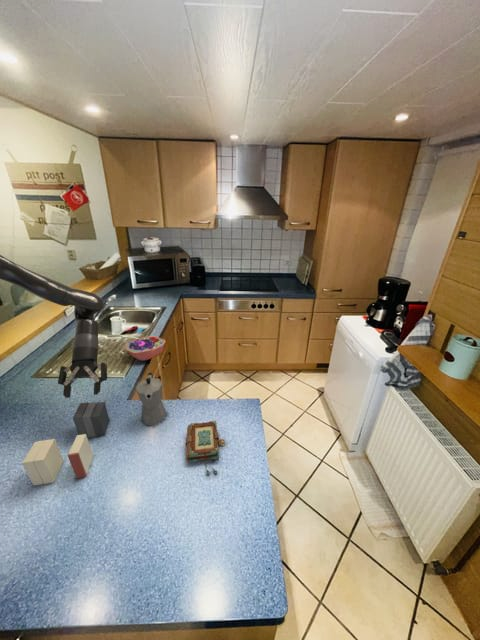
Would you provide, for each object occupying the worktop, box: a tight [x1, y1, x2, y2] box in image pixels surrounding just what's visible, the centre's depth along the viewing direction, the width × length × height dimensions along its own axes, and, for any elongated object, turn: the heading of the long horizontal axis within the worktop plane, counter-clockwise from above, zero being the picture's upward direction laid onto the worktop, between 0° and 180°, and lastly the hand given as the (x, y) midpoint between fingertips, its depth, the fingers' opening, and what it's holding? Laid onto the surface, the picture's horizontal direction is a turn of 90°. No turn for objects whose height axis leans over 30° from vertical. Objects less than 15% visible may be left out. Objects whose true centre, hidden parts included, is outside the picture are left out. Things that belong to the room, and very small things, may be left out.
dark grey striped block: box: [72, 401, 110, 438], centre depth 90 cm, size 8×7×10 cm
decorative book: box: [185, 420, 226, 475], centre depth 84 cm, size 13×18×5 cm
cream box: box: [21, 438, 64, 486], centre depth 75 cm, size 5×7×10 cm
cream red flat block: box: [67, 434, 94, 479], centre depth 77 cm, size 3×7×10 cm, turn 12°
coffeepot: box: [135, 372, 167, 426], centre depth 95 cm, size 15×9×18 cm, turn 16°
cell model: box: [125, 335, 166, 362], centre depth 134 cm, size 17×20×11 cm
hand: (81, 396), depth 83 cm, fingers open, 8 cm apart
